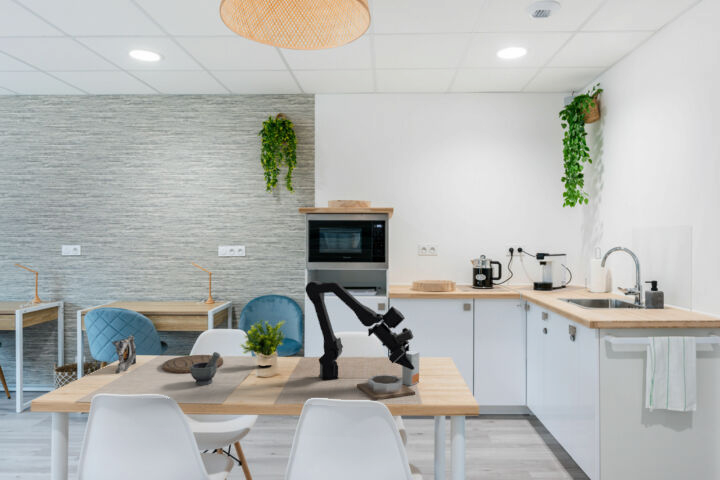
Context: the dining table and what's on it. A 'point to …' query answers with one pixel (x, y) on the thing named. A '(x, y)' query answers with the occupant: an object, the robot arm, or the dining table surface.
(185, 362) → the trivet
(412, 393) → the walnut board
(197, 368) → the mortar and pestle
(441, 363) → the dining table surface
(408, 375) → the skincare box
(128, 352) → the grey piece
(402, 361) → the robot arm
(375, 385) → the steel ring
